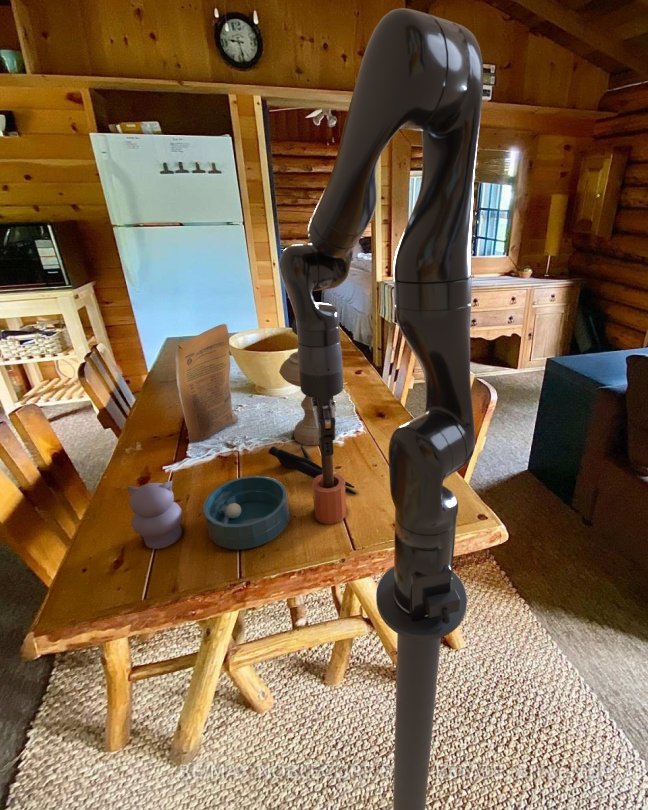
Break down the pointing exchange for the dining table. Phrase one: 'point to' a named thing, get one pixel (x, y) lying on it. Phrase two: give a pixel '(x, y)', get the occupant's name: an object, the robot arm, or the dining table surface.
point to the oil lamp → (306, 427)
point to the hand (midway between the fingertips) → (326, 449)
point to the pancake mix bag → (205, 383)
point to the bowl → (247, 512)
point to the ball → (233, 510)
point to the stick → (327, 471)
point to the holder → (329, 500)
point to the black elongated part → (301, 464)
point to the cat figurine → (155, 514)
